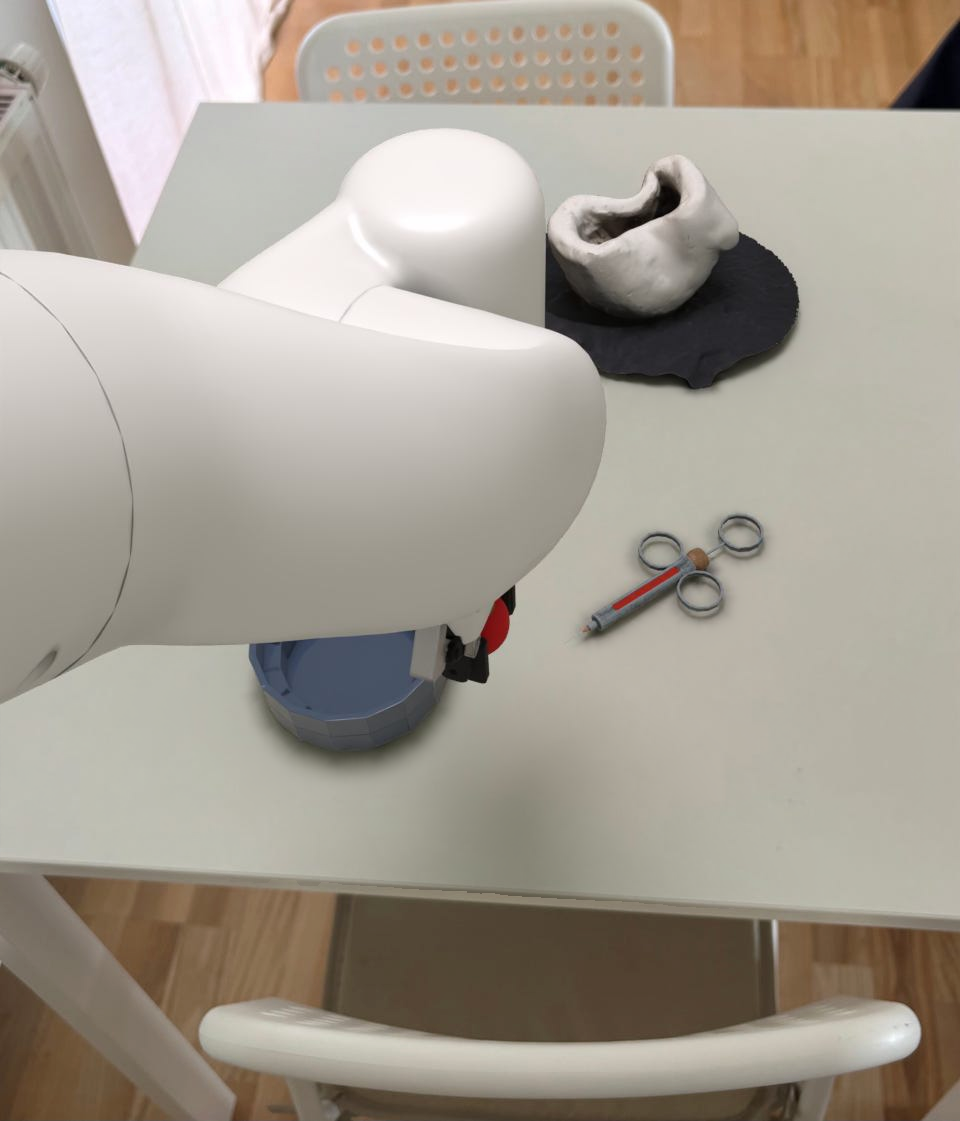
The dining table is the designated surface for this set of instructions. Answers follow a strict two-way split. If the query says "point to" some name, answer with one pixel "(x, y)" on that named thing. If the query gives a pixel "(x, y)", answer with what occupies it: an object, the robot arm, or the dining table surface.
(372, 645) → the bowl
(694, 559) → the syringe
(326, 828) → the dining table surface
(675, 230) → the sculpture
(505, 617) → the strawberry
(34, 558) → the robot arm
